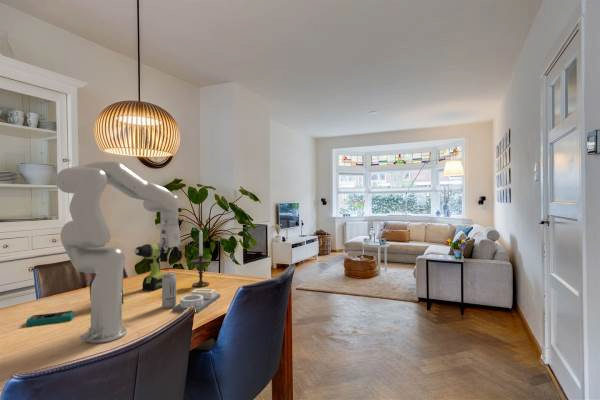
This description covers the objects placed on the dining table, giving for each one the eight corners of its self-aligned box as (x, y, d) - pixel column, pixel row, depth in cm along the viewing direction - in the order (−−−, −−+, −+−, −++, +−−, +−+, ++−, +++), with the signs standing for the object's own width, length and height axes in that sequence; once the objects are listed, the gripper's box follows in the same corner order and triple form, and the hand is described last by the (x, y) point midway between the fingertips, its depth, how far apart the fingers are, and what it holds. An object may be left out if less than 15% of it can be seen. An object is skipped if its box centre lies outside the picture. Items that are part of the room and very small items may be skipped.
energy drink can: (167, 309, 145) (167, 275, 146) (159, 307, 149) (159, 274, 149) (179, 305, 151) (179, 273, 151) (170, 303, 154) (170, 271, 154)
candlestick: (213, 283, 192) (213, 223, 193) (206, 288, 182) (206, 224, 182) (195, 282, 194) (195, 223, 194) (187, 287, 183) (187, 224, 183)
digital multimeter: (30, 322, 132) (30, 314, 132) (74, 316, 138) (74, 309, 138) (24, 328, 125) (24, 320, 125) (71, 322, 132) (71, 314, 132)
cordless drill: (139, 296, 165) (139, 247, 165) (127, 295, 167) (127, 246, 167) (167, 285, 188) (168, 241, 188) (157, 284, 189) (157, 241, 190)
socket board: (198, 312, 141) (198, 302, 141) (172, 311, 143) (172, 301, 143) (220, 296, 165) (220, 287, 165) (197, 295, 167) (197, 287, 167)
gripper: (166, 223, 141) (166, 263, 141) (186, 220, 158) (186, 256, 158) (150, 223, 142) (150, 263, 142) (172, 220, 159) (172, 256, 159)
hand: (169, 259), depth 150 cm, fingers open, 9 cm apart
